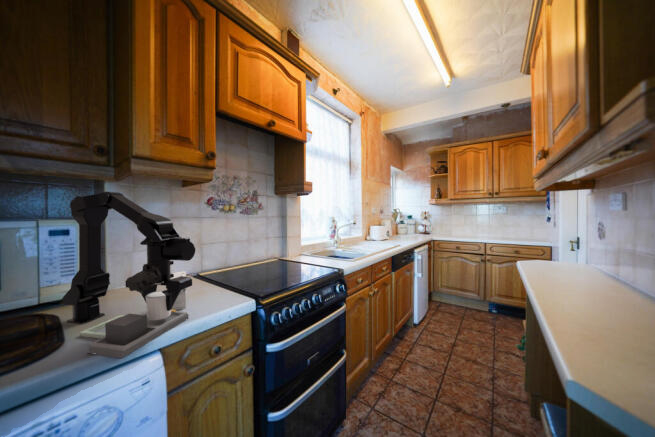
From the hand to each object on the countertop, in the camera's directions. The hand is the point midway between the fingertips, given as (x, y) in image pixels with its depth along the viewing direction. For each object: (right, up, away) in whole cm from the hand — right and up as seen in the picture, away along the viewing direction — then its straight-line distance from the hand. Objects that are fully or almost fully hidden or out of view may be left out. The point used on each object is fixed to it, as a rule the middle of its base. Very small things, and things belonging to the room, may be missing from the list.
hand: (160, 309), depth 72 cm
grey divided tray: (-1, -5, -5) cm, 7 cm away
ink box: (-4, -5, +15) cm, 16 cm away
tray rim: (-12, -5, -2) cm, 13 cm away
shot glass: (0, -2, 0) cm, 2 cm away
